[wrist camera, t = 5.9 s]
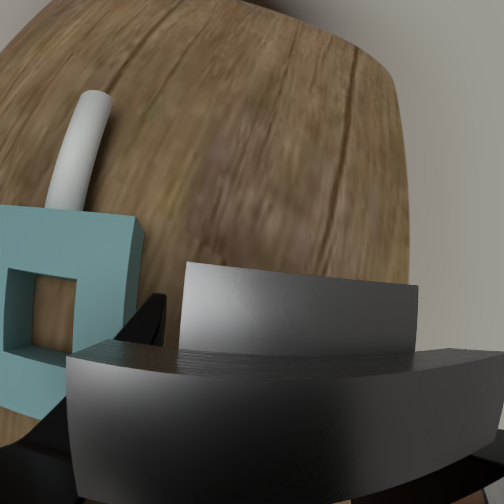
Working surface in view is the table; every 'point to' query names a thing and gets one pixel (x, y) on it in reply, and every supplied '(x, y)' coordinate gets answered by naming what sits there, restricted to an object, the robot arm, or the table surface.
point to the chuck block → (64, 267)
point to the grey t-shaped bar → (276, 396)
